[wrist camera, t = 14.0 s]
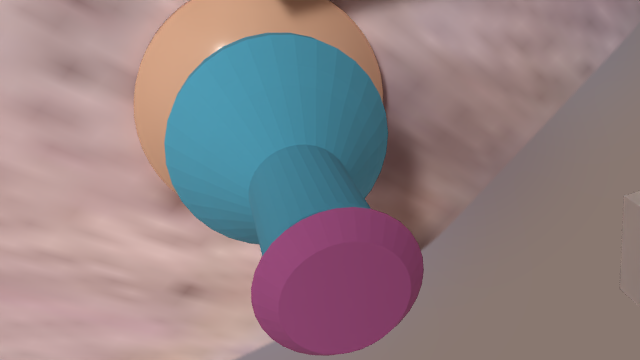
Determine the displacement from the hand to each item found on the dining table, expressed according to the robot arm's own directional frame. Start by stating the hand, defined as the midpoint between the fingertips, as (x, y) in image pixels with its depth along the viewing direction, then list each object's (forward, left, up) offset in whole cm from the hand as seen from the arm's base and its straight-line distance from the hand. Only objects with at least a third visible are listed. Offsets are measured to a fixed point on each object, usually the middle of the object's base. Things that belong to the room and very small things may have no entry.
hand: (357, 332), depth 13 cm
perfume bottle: (0, 0, -17) cm, 17 cm away
